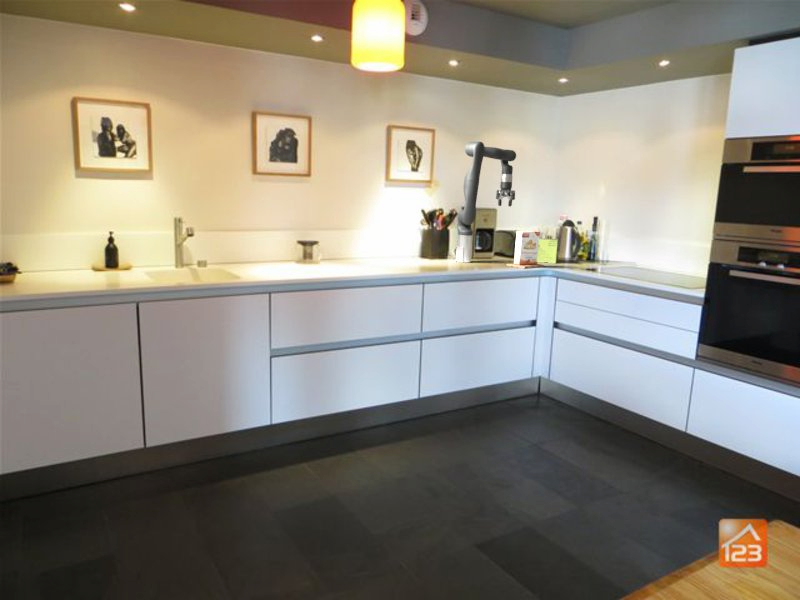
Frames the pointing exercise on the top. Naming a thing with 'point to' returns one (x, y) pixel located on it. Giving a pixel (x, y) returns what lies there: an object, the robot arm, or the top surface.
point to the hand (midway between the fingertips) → (504, 206)
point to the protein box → (547, 250)
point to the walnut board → (525, 266)
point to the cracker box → (526, 247)
